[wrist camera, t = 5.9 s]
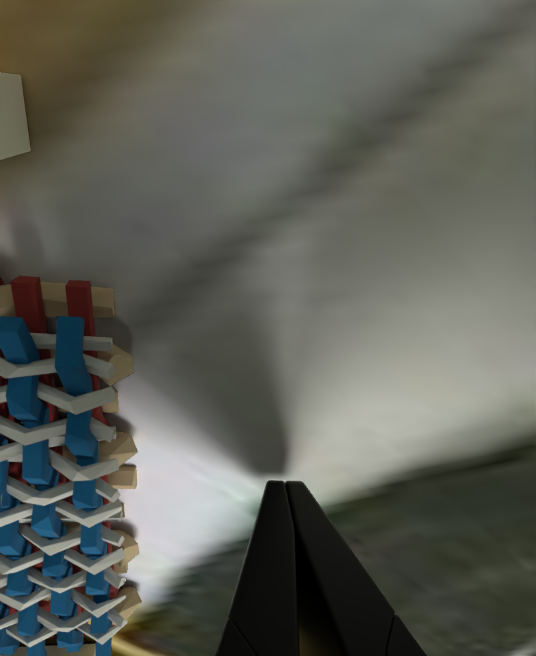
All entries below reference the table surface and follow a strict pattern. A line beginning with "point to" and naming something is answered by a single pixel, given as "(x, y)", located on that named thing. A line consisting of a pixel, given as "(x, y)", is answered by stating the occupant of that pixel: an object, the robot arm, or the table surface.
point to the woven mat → (61, 470)
